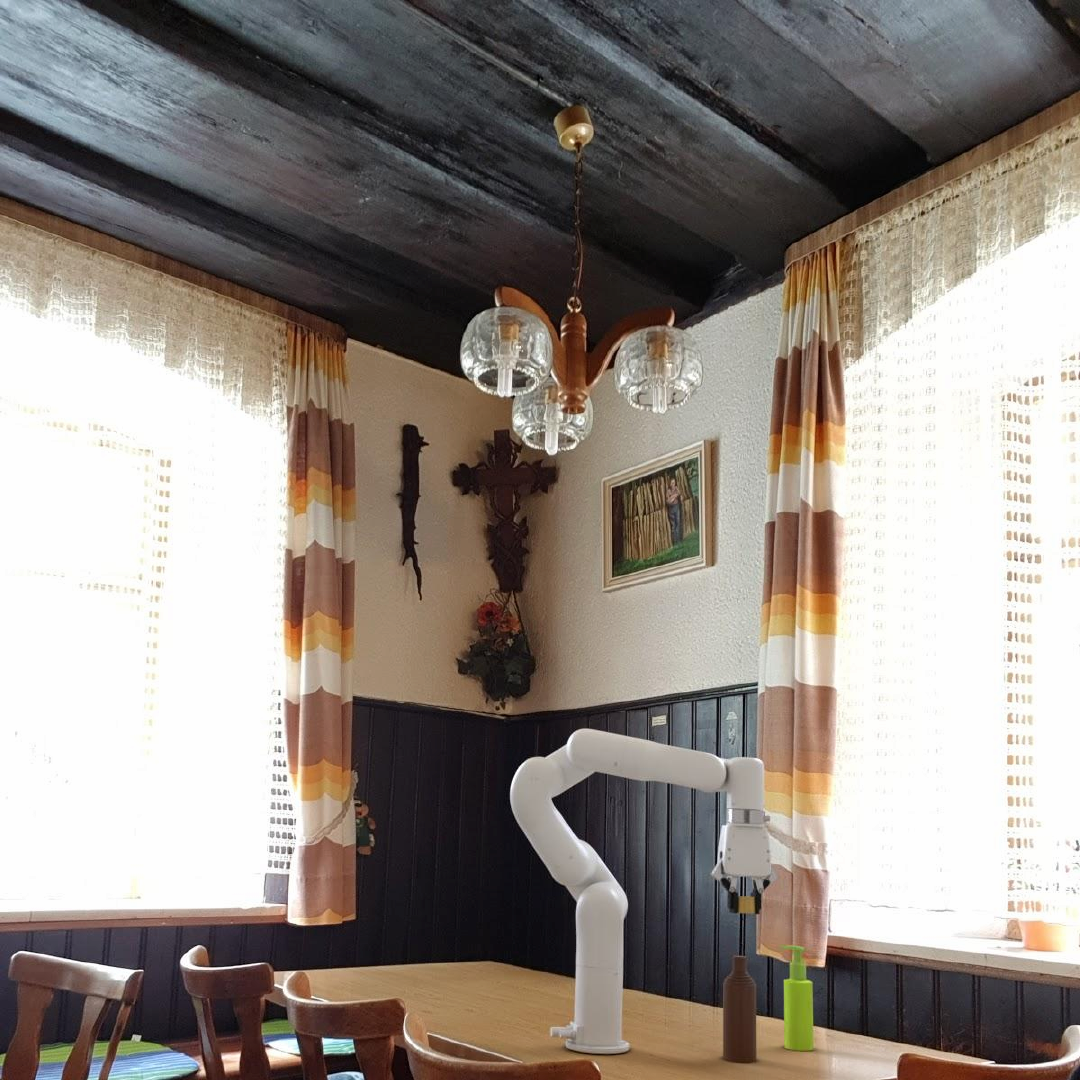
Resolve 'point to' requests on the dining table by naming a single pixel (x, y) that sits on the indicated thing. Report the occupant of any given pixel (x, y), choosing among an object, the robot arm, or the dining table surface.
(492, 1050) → the dining table surface
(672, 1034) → the dining table surface
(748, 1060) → the bottle
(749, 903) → the cap
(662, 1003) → the dining table surface
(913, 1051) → the dining table surface
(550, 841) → the robot arm
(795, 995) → the soap dispenser
